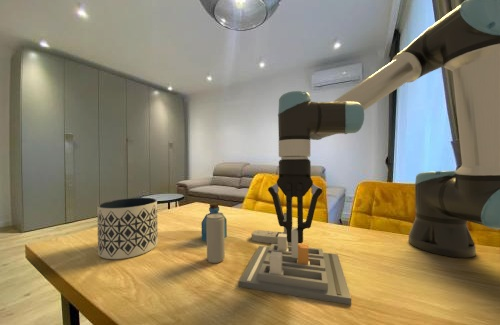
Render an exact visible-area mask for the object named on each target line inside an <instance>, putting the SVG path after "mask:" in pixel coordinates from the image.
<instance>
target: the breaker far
mask: <svg viewBox="0 0 500 325" xmlns="http://www.w3.org/2000/svg"><path fill="white" fill-rule="evenodd" d="M288 246H289V245H288V242H287V234H280V233H279V234H278V249H277V250H281V251H289V249H288Z"/></svg>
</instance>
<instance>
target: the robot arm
mask: <svg viewBox="0 0 500 325" xmlns="http://www.w3.org/2000/svg"><path fill="white" fill-rule="evenodd" d="M391 59H392V60H391V62H389V63H388V64H386V65H385V66H383V67H381V68H380V69H378V71H376V72H375V73H373V74H372V75H370V76H368V77H367V78H366V79H364V80H363V81H360V82H359V83H358V84H357V85H355V86H354V87H352V88H351V89H349V90H347V91H346V92H345V93H343V94H342V95H340V96H339V97H337V98H336V99H335V100H333V101H319V102H318V101H312V99H311V95H310V93H309V92H306V91H301V90H294V91H288V92H286V93H285V92H284V93H283V94H282V95H281V96H280V97H279V98H278V111H277V112H278V114H277V118H278V119H277V120H278V121H277V122H278V127H277V128H278V157H279V158H281V159H279V161H278V178H277V180H276V183H274V185H271V186H269V187H268V188H267V191H268V192H269V194H270V195H271V197H272V202H273V205H274V209H275V214H276V217H277V222H278V225H279V227H283V228H284V227H285V228H286V229H287V242H291V245H290V246H292V258H298V244H304V230H306V229H310V228H311V227H312V222H313V219H314V215H315V210H316V206H317V203H318V199H319V197H321V195H322V193H323V188H322V187H320V186H318V185H316V184H314V182H313V179H312V177H311V176H312V175H311V170H312V168H311V163H312V162H311V160H310V159H309V158H310V157H311V140H316V141H318V140H319V141H321V140H322V139H324V138H328V137H331V136H334V135H340V134H341V135H348V134H356V133H357V132H359V131H361V129H362V127H363V125H364V121H365V110H367V109H369V108H371V107H372V106H373V105H375V104H376V103H377V102H379V101H380V100H382V99H383V98H385V97H387V96H388V95H390V94H391V93H392V92H394V91H395V90H398V89H399V88H400V87H402V86H403V85H405V84H406V83H409V84H410V83H413V82H415V81H417V80H418V79H420V78H422V77H423V76H425V75H427V74H430V73H431V72H434V71H436V70H438V69H440V68H445V69H446V70H449V71H451V72H452V78H453V80H452V81H453V89H454V98H455V99H454V100H455V107H456V108H455V109H456V117H457V127H458V137H459V147H460V156H461V158H460V159H461V166H460V167H459V168H457V169H456V170H440V171H439V170H438V171H425V172H419V173H417V174H416V175H415V183H414V196H415V198H414V199H415V202H414V203H415V204H414V205H415V206H414V207H415V208H414V210H415V217H414V218H415V219H414V221H413V223H412V226H411V228H410V231H409V232H408V243H409V244H411V245H412V246H414V247H415V248H418V249H420V250H423V251H425V252H428V253H432V254H436V255H441V256H446V257H451V258H452V257H453V258H463V259H464V258H466V259H468V258H473V257H475V256H476V253H477V252H476V249H477V248H476V245H475V241H474V240H473V237H472V234H471V233H470V230H469V228H468V222H471V223H473V224H475V225H476V224H477V225H481V226H483V227H486V228H487V229H488V228H489V229H493V230H500V0H463V1H462V3H461V4H459V5H458V6H456V8H454V9H453V10H451V11H450V12H448V13H447V14H446V15H444V16H443V17H442V18H441V19H439V20H437V21H436V22H435V23H434V24H432V25H431V26H429V27H428V28H427V29H425V30H424V31H423V32H422V33H421V34H420V35H419V36H418V37H416V38H415V39H414V40H413V41H412V42H411V43H410V44H408V45H407V46H406V47H404V48H403V50H401V51H400V52H398V53H397V54H396V55H394V56H393V57H392V58H391ZM279 189H280V190H279ZM310 189H311V190H310ZM309 190H310V191H311V194H312V196H311V199H310V202H309V207H308V209H307V210H308V211H307V216H306V220H305V221H304V197H305V196H306V194H308V192H309ZM279 191H281V192H282V193H283V194H284V196H285V202H286V203H285V204H286V205H285V206H286V211H285V213H286V221H285V219H284V211H283V207H282V202H281V200H280V195H279ZM293 198H296V202H297V203H296V204H297V205H296V206H297V207H296V208H297V211H296V212H297V216H296V217H297V226H293Z"/></svg>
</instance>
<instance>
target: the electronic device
mask: <svg viewBox="0 0 500 325" xmlns="http://www.w3.org/2000/svg"><path fill="white" fill-rule="evenodd" d="M283 215H284V219H285V221H286V212H283ZM279 233H280V234H287V229H286V228H285V227H283V231H273V230H261V229H259V230H253V231H252V232H251V241H253V242H257V243H264V244H278V234H279ZM288 246H292V245H291V242H288Z"/></svg>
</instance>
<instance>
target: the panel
mask: <svg viewBox="0 0 500 325" xmlns="http://www.w3.org/2000/svg"><path fill="white" fill-rule="evenodd" d="M270 244H271V243H270ZM277 249H278V244H271V245H270V246H265V245H264V246H263V245H259V246H258V247H257V249H256V250H255V253H254V254H253V255H252V257H251V259H250V261H249V262H248V264H247V267H246V268H245V270H244V272H243V273H242V275H241V277H240V278H239V280H238V287H239V288H244V289H245V288H246V289H252V290H257V291H258V290H259V291H263V292H270V293H276V294H282V295H287V296H288V295H289V296H293V297H301V298H307V299H313V300H319V301H324V302H325V301H326V302H333V303H338V304H343V305H350V306H351V305H352V296H351V292H350V290H349V289H350V288H349V286H348V283H347V280H346V277H345V274H344V270H343V268H342V263H341V261H340V257H339V254H338V253H331V252H324V249H323V248H316V247H308V259H309V261H310V265H308V264H300V263H297V260H298V258H292V245H288V249H289V251H281V250H277ZM272 251H274V252H282V270H284V275H279V274H272V273H269V271H270V254H271V252H272Z"/></svg>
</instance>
